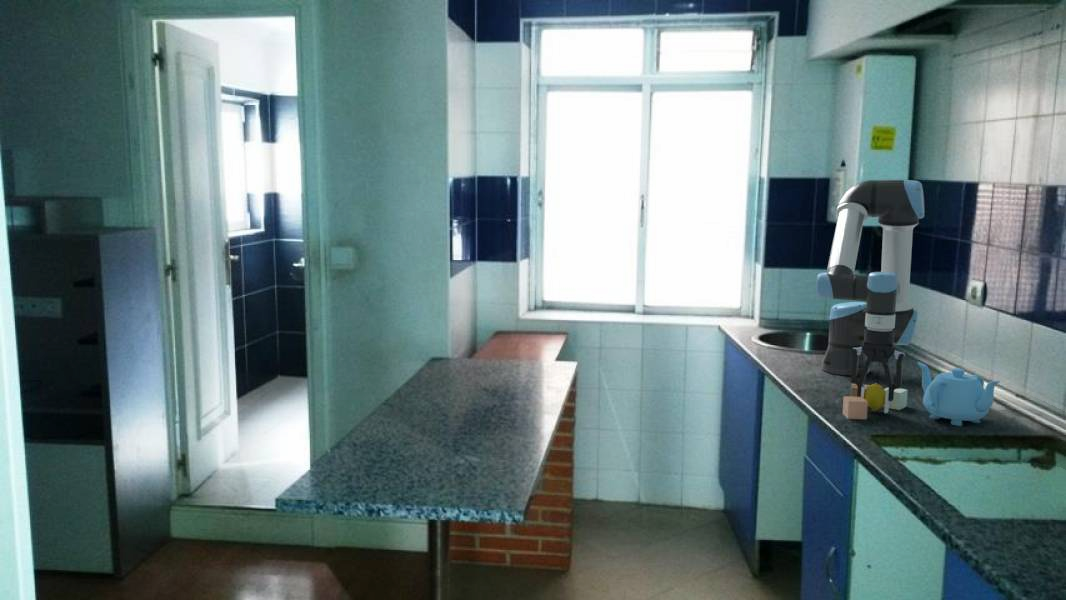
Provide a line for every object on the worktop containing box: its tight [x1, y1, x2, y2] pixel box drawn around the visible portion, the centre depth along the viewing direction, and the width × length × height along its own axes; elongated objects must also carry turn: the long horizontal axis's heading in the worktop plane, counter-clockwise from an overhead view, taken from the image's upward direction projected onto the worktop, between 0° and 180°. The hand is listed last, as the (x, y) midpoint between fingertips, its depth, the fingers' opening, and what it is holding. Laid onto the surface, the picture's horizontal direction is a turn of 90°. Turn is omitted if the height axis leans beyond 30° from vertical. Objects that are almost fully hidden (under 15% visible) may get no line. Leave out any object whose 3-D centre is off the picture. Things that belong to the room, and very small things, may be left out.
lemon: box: [865, 382, 885, 412], centre depth 222 cm, size 6×6×8 cm
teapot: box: [916, 361, 1001, 427], centre depth 214 cm, size 16×20×14 cm
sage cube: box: [882, 387, 908, 411], centre depth 227 cm, size 5×5×5 cm
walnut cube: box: [850, 383, 870, 397], centre depth 231 cm, size 5×5×5 cm
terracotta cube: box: [842, 395, 869, 420], centre depth 218 cm, size 5×5×5 cm
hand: (874, 410), depth 222 cm, fingers closed on lemon, 5 cm apart
